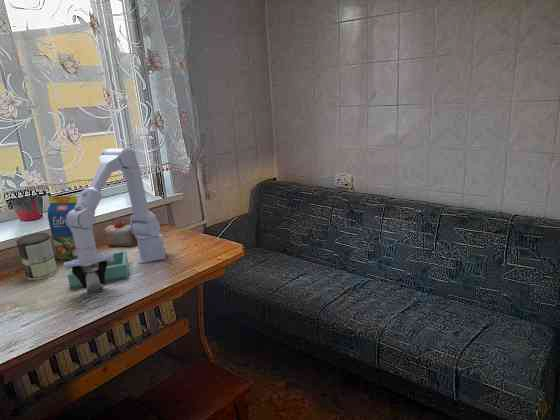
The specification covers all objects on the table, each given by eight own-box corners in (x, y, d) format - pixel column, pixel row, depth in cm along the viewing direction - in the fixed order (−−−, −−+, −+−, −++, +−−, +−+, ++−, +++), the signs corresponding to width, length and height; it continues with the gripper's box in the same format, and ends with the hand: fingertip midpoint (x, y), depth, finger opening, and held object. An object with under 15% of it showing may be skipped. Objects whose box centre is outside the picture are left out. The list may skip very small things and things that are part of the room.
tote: (128, 263, 156) (126, 250, 155) (127, 278, 144) (125, 264, 142) (76, 272, 151) (73, 259, 150) (70, 289, 138) (67, 275, 137)
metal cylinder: (104, 285, 139) (100, 266, 137) (103, 292, 135) (99, 272, 133) (88, 288, 138) (83, 269, 136) (86, 295, 133) (81, 275, 131)
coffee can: (19, 280, 148) (9, 243, 144) (36, 268, 157) (27, 233, 153) (47, 279, 147) (38, 242, 143) (63, 267, 157) (54, 231, 153)
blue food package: (68, 253, 170) (54, 194, 163) (94, 254, 168) (81, 193, 161) (57, 259, 164) (42, 198, 157) (84, 260, 162) (70, 198, 155)
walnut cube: (90, 271, 149) (87, 258, 148) (101, 272, 147) (98, 259, 146) (79, 277, 145) (76, 264, 143) (90, 278, 143) (87, 265, 141)
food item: (104, 247, 175) (100, 225, 172) (115, 240, 182) (111, 218, 179) (133, 248, 171) (129, 225, 168) (143, 241, 179) (140, 219, 176)
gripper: (58, 254, 126) (68, 295, 130) (109, 246, 130) (117, 285, 134) (62, 247, 132) (71, 285, 136) (110, 239, 136) (118, 276, 140)
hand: (94, 285), depth 136 cm, fingers closed on metal cylinder, 5 cm apart
